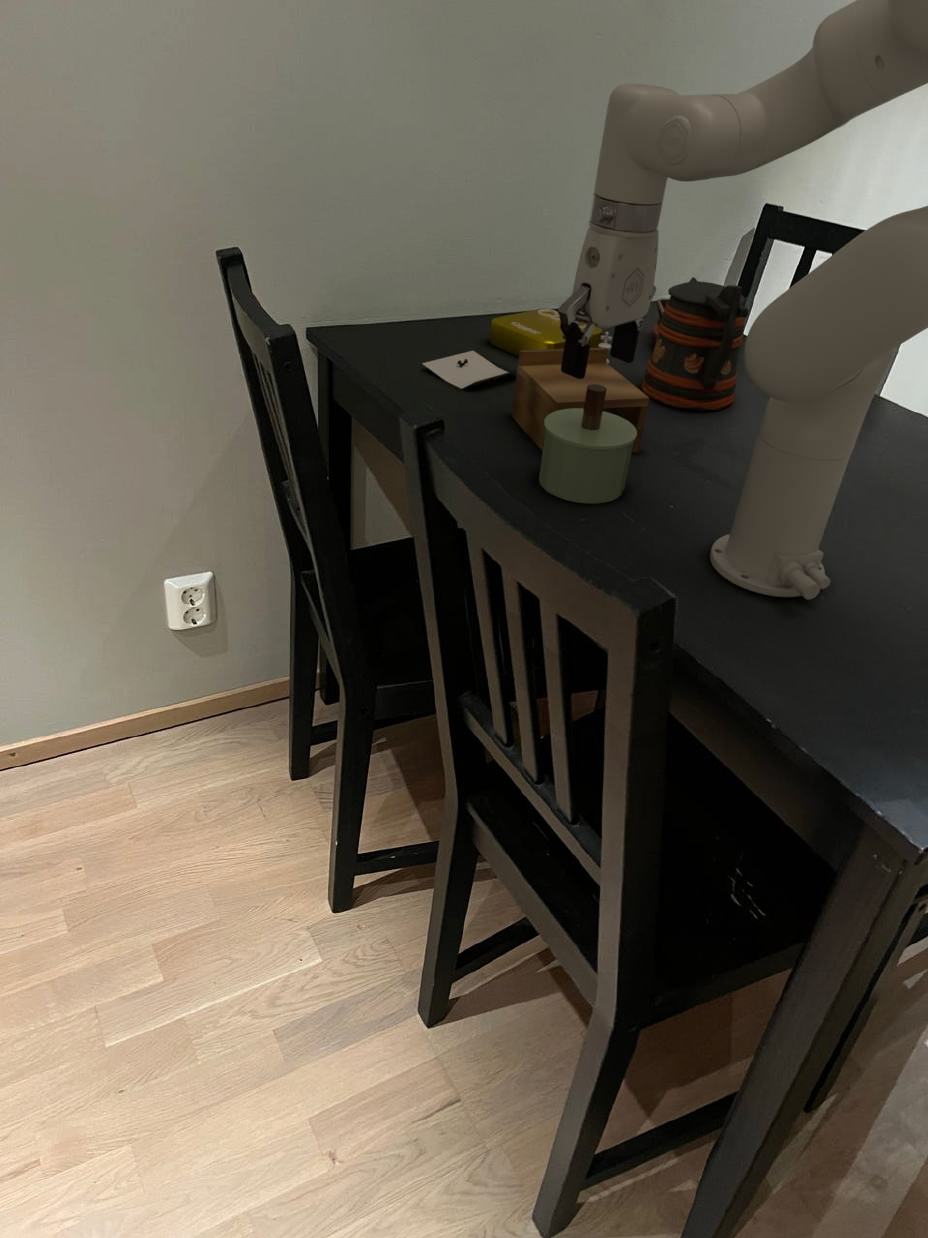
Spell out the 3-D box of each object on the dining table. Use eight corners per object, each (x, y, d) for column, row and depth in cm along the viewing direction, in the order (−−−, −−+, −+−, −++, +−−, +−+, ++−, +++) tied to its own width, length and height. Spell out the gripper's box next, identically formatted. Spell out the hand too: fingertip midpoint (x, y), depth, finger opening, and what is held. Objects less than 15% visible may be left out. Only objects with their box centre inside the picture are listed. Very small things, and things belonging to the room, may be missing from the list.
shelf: (638, 452, 128) (652, 383, 122) (549, 458, 124) (559, 387, 118) (595, 412, 139) (606, 347, 133) (511, 416, 135) (519, 349, 129)
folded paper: (472, 356, 155) (473, 345, 154) (525, 378, 149) (526, 367, 148) (420, 370, 148) (421, 358, 147) (473, 394, 141) (474, 381, 140)
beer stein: (760, 424, 140) (797, 291, 129) (671, 424, 137) (701, 288, 126) (710, 379, 155) (740, 256, 144) (629, 378, 153) (652, 253, 141)
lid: (651, 451, 112) (661, 403, 109) (565, 457, 109) (572, 408, 105) (610, 414, 121) (618, 368, 117) (529, 418, 117) (535, 372, 114)
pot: (638, 499, 116) (649, 445, 112) (558, 506, 113) (567, 451, 108) (601, 462, 124) (610, 410, 120) (526, 467, 121) (532, 414, 117)
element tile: (484, 343, 162) (486, 315, 159) (542, 330, 171) (546, 304, 168) (545, 369, 153) (549, 340, 150) (603, 354, 162) (608, 327, 159)
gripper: (605, 231, 93) (577, 392, 103) (696, 215, 104) (663, 362, 113) (548, 214, 97) (527, 371, 107) (641, 201, 108) (614, 344, 117)
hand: (597, 366), depth 110 cm, fingers open, 9 cm apart
